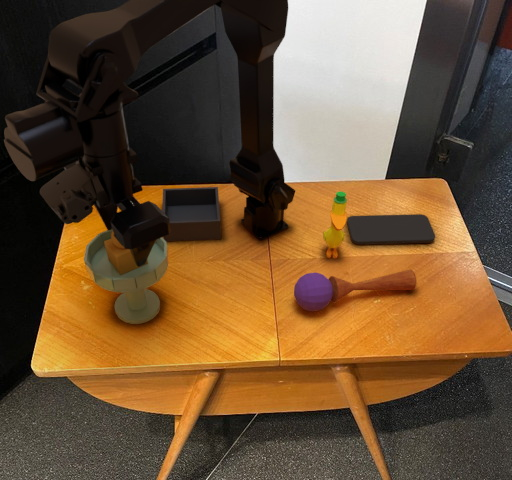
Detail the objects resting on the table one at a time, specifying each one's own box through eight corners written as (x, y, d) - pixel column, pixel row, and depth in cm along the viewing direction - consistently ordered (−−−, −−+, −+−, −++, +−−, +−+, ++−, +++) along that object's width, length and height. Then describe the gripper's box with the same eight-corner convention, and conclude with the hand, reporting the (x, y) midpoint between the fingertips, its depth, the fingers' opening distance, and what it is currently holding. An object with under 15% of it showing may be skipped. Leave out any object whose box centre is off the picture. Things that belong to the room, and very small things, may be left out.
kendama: (425, 283, 85) (304, 299, 80) (410, 305, 90) (296, 320, 85) (411, 253, 88) (293, 266, 83) (397, 276, 93) (286, 289, 88)
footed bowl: (152, 272, 91) (143, 216, 82) (187, 314, 85) (181, 258, 76) (88, 300, 87) (71, 243, 78) (121, 346, 81) (106, 290, 72)
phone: (346, 215, 101) (426, 213, 101) (345, 219, 101) (425, 217, 102) (353, 242, 96) (437, 239, 96) (352, 245, 96) (435, 243, 97)
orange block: (135, 248, 80) (129, 214, 76) (148, 263, 78) (142, 229, 74) (108, 259, 79) (99, 225, 74) (120, 275, 77) (112, 241, 72)
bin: (218, 204, 103) (217, 186, 100) (221, 239, 97) (220, 221, 94) (165, 206, 102) (162, 188, 99) (164, 241, 96) (161, 223, 93)
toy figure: (342, 268, 93) (354, 210, 83) (321, 267, 93) (330, 209, 83) (340, 242, 97) (351, 184, 88) (320, 241, 97) (328, 183, 88)
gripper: (9, 129, 66) (44, 231, 78) (71, 208, 57) (100, 310, 69) (94, 104, 70) (116, 205, 82) (165, 174, 61) (178, 276, 73)
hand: (125, 246), depth 76 cm, fingers open, 9 cm apart
